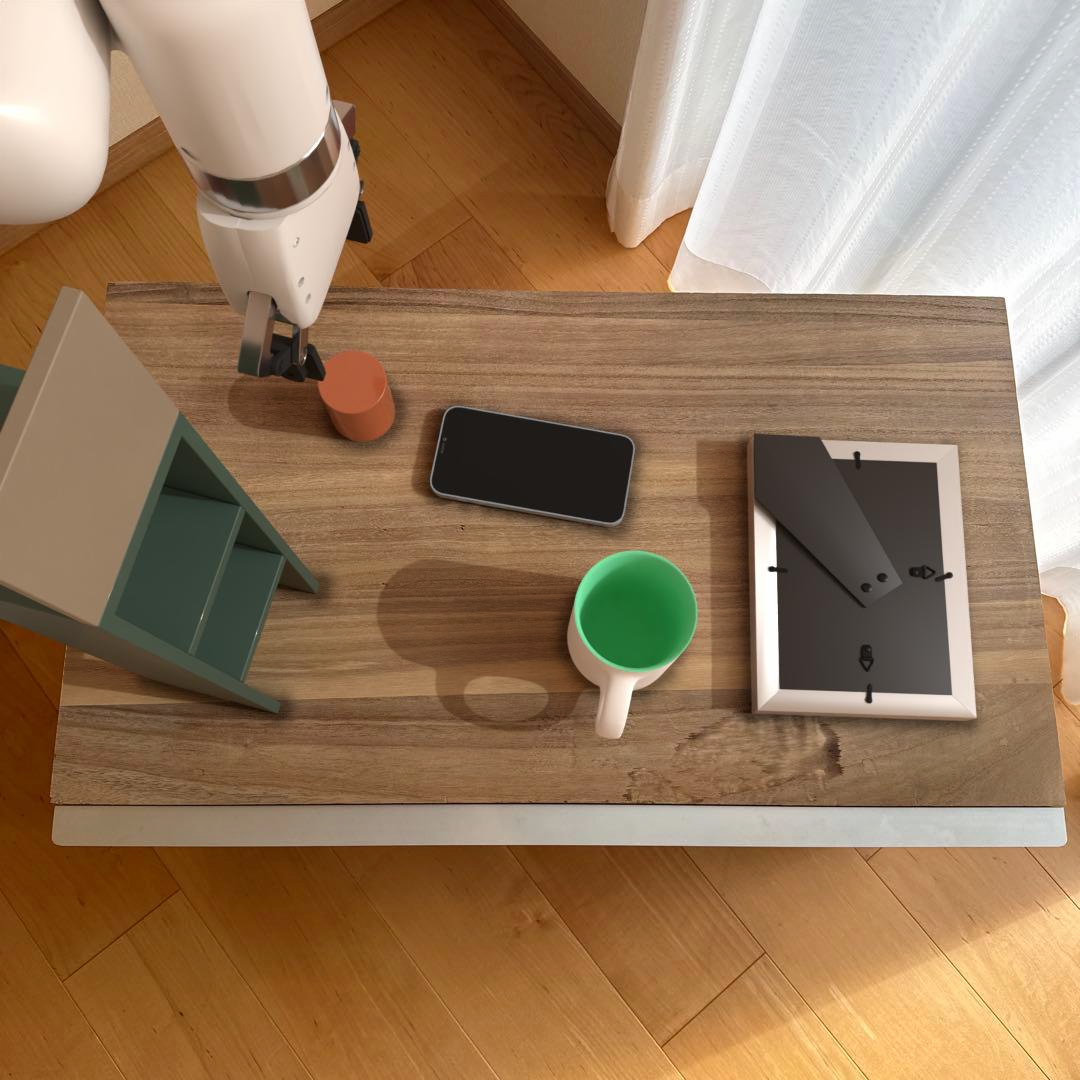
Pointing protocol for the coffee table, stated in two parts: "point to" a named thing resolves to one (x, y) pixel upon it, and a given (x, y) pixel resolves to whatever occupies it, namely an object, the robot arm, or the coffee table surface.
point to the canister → (357, 396)
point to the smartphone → (533, 466)
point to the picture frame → (857, 580)
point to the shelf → (128, 518)
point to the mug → (629, 628)
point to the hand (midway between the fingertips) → (325, 302)
